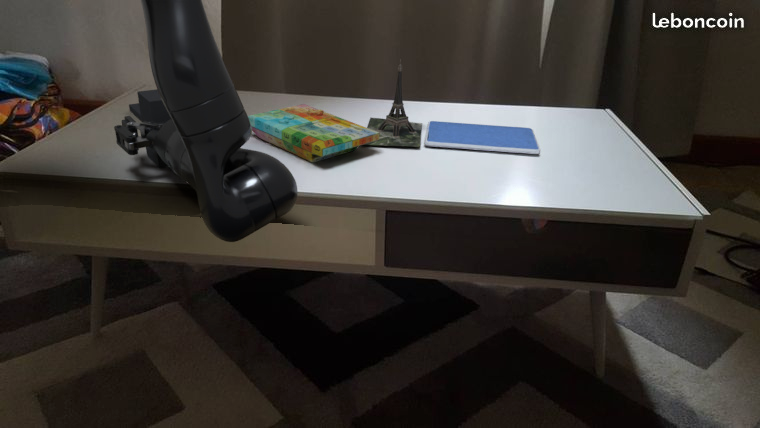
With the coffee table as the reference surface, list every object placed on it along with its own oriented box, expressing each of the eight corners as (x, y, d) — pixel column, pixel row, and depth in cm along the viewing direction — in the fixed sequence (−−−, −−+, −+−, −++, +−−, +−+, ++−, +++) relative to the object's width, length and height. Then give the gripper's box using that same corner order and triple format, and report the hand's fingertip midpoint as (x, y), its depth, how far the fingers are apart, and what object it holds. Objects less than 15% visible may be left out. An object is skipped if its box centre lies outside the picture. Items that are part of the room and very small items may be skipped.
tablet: (423, 148, 96) (424, 141, 95) (427, 125, 107) (428, 119, 107) (540, 158, 94) (541, 150, 94) (531, 134, 105) (533, 127, 105)
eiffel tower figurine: (369, 120, 109) (371, 48, 103) (422, 123, 108) (427, 51, 102) (361, 146, 96) (363, 66, 90) (421, 150, 95) (428, 70, 89)
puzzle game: (301, 99, 103) (379, 127, 90) (302, 124, 105) (378, 155, 92) (245, 110, 95) (322, 143, 83) (247, 137, 97) (322, 173, 85)
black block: (159, 168, 84) (149, 101, 79) (146, 155, 88) (137, 91, 84) (185, 163, 86) (178, 97, 82) (172, 150, 90) (164, 88, 86)
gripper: (245, 116, 76) (201, 88, 88) (134, 132, 69) (102, 99, 80) (248, 168, 80) (205, 134, 91) (143, 189, 72) (111, 150, 83)
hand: (157, 118), depth 86 cm, fingers open, 8 cm apart
